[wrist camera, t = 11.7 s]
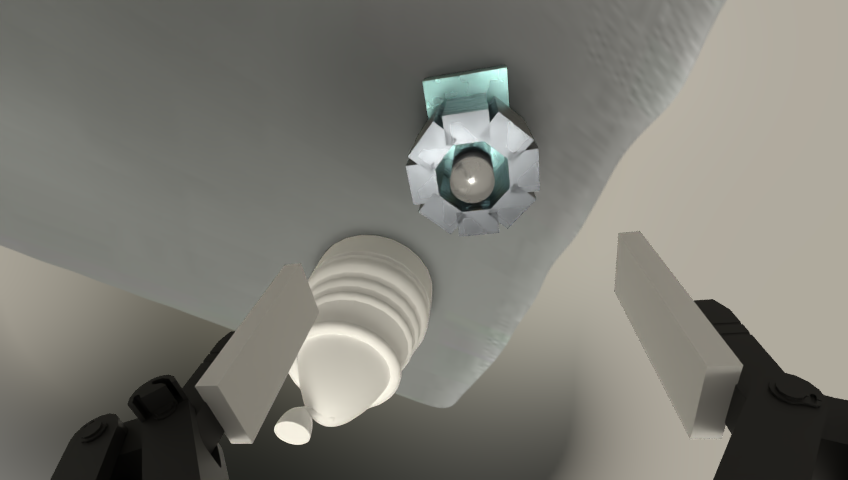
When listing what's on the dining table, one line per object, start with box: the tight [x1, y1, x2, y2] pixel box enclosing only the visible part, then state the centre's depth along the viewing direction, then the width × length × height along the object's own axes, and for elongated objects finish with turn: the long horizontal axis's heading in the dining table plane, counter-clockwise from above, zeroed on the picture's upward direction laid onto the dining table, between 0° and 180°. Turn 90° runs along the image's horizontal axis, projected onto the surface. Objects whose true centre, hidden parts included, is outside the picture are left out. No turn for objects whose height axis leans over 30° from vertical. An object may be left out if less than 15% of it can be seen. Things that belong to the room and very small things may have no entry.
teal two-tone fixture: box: [423, 65, 509, 203], centre depth 31 cm, size 12×6×9 cm, turn 10°
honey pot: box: [274, 235, 432, 445], centre depth 36 cm, size 13×13×18 cm
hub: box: [406, 93, 540, 236], centre depth 30 cm, size 9×9×6 cm
